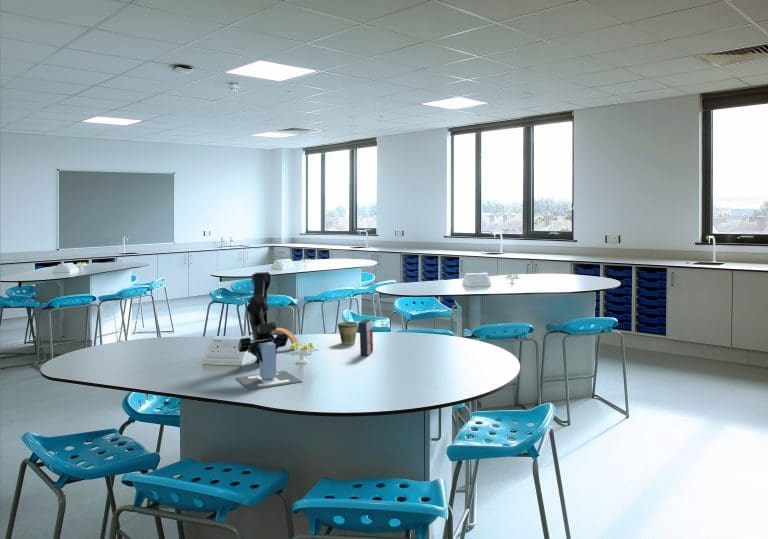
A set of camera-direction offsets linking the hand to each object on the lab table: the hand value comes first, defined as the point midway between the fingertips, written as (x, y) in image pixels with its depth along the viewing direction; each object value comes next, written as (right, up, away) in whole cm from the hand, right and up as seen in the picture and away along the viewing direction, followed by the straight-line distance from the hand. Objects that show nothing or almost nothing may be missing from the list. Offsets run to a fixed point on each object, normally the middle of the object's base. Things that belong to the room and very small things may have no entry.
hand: (268, 360), depth 229 cm
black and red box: (+36, -4, +44) cm, 57 cm away
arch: (-8, -4, +61) cm, 62 cm away
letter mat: (0, -8, +2) cm, 8 cm away
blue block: (-1, -7, +2) cm, 7 cm away
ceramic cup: (+26, -2, +71) cm, 76 cm away
